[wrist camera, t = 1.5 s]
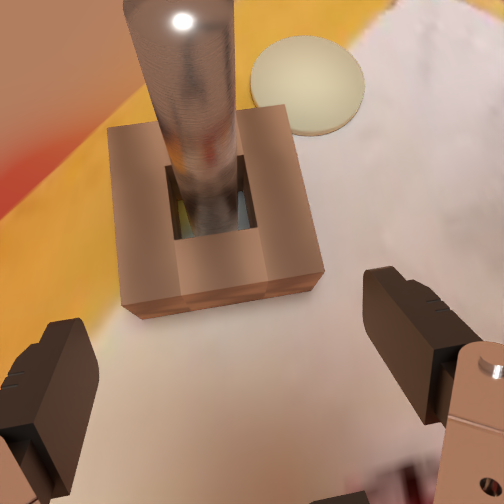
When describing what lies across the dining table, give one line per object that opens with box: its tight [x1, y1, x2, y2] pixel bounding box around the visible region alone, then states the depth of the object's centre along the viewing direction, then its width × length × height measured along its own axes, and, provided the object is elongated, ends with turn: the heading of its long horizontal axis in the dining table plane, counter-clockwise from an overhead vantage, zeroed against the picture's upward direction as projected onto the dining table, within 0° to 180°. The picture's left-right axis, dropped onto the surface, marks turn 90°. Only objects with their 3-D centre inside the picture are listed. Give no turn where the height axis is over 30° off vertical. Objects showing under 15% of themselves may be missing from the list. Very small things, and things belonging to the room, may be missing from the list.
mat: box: [251, 36, 365, 136], centre depth 40 cm, size 11×11×1 cm
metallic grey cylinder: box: [123, 0, 238, 237], centre depth 25 cm, size 4×4×22 cm
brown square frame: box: [107, 104, 325, 319], centre depth 33 cm, size 14×14×6 cm
